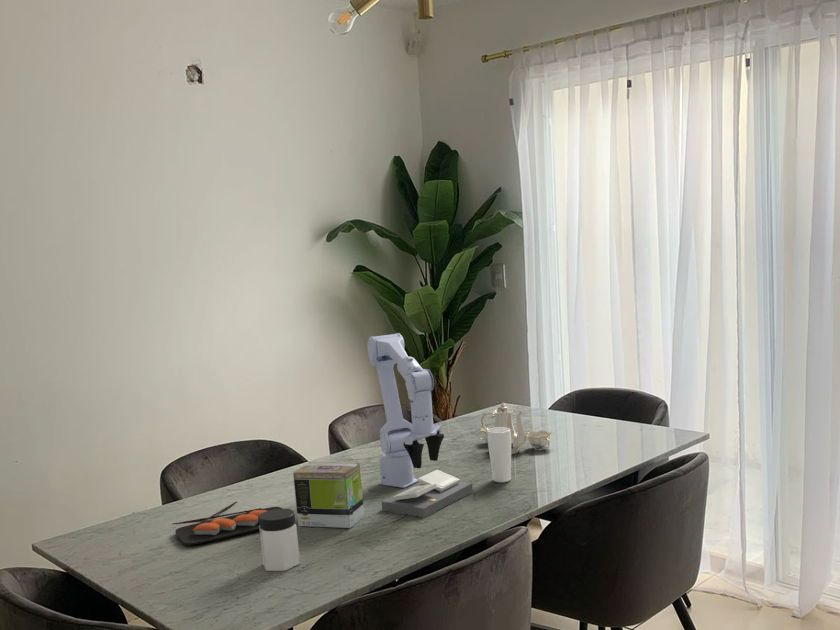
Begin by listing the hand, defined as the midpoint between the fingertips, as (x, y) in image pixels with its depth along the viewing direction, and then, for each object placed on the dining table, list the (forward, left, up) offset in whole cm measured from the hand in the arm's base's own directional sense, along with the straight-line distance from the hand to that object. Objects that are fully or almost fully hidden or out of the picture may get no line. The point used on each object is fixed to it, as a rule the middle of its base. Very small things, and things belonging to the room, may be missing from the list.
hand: (425, 464), depth 236 cm
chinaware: (-6, +54, -11) cm, 56 cm away
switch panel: (0, 0, -10) cm, 10 cm away
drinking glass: (+9, +24, -11) cm, 28 cm away
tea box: (-14, -24, -11) cm, 30 cm away
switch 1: (0, -5, -6) cm, 8 cm away
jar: (-5, -51, -11) cm, 52 cm away
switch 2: (0, +6, -6) cm, 8 cm away
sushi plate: (-41, -36, -11) cm, 56 cm away
